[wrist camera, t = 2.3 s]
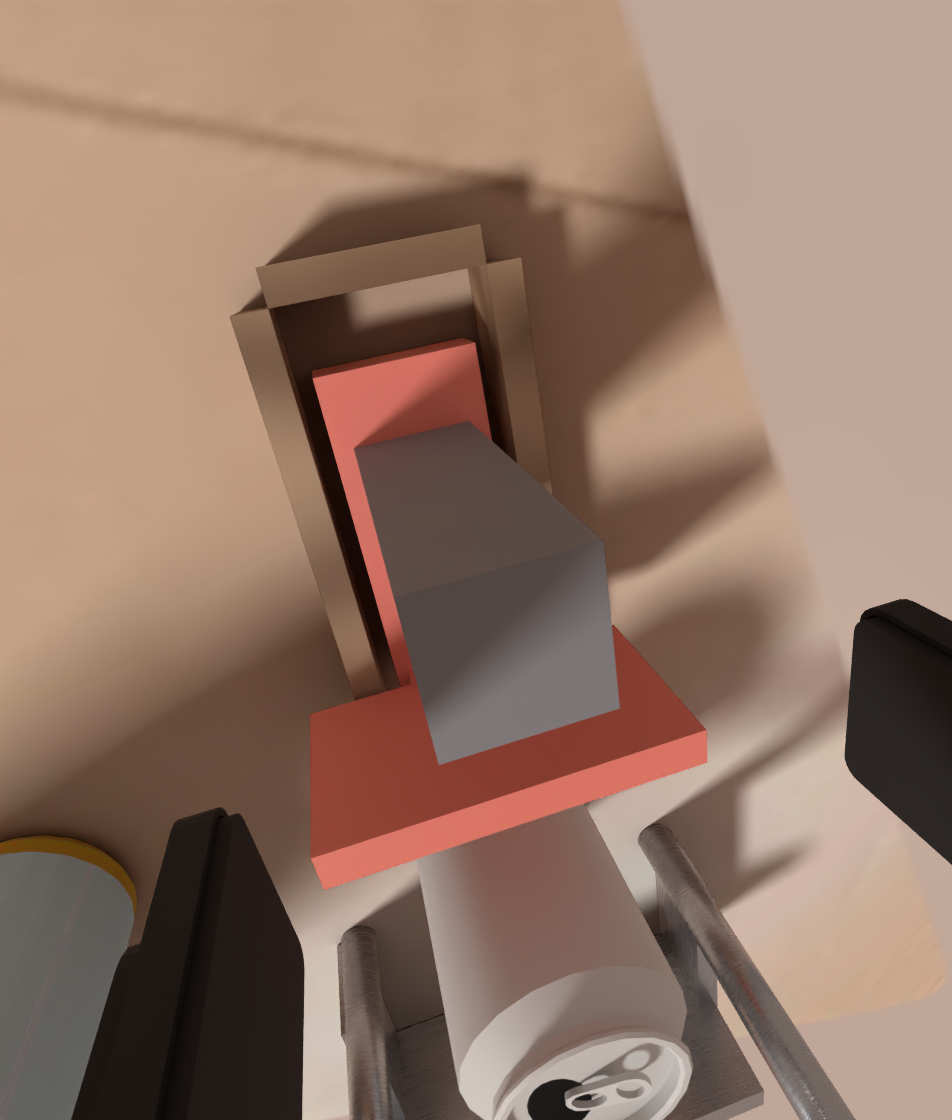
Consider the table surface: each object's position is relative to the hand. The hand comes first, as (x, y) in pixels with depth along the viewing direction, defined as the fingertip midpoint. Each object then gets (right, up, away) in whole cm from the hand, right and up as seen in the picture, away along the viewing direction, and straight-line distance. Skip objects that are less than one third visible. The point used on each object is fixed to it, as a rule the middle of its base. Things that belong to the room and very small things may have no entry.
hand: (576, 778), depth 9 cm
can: (-1, -8, +20) cm, 21 cm away
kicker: (-3, +4, +13) cm, 14 cm away
